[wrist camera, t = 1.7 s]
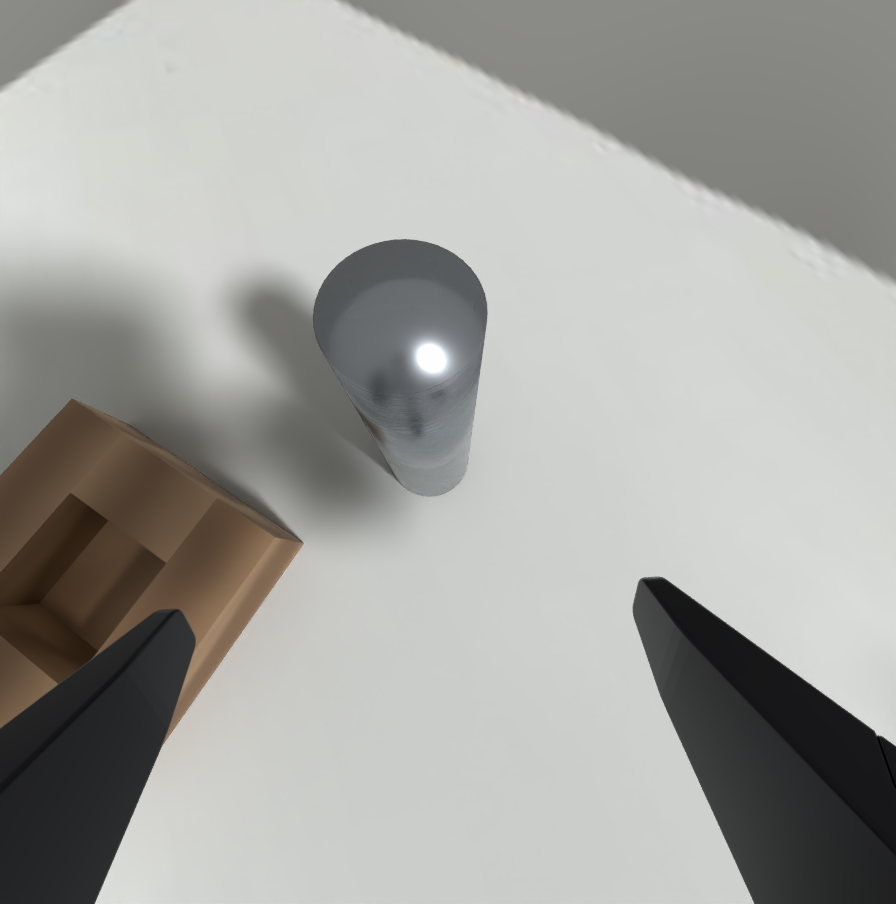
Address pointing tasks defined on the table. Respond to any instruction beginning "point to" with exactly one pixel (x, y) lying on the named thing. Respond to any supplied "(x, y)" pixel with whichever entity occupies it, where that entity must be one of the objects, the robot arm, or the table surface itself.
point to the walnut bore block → (120, 554)
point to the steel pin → (408, 354)
